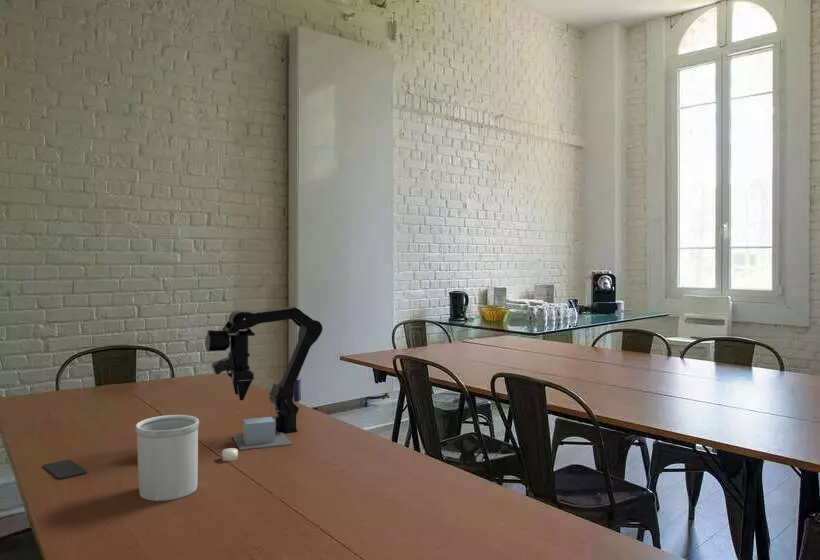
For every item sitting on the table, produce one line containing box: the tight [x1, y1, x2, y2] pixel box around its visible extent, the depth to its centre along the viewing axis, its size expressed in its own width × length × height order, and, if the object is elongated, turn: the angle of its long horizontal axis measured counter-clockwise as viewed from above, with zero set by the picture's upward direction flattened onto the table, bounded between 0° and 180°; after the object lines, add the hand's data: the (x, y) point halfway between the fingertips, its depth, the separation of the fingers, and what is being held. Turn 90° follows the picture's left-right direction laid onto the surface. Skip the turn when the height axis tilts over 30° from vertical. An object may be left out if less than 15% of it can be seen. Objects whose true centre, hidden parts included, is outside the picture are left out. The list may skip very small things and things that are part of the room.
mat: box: [231, 430, 293, 451], centre depth 204 cm, size 16×16×1 cm
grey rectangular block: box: [242, 416, 276, 445], centre depth 202 cm, size 9×6×6 cm
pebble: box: [221, 447, 239, 462], centre depth 185 cm, size 4×4×2 cm
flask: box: [293, 374, 302, 403], centre depth 263 cm, size 9×3×11 cm, turn 8°
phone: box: [42, 459, 88, 481], centre depth 174 cm, size 7×1×15 cm
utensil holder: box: [135, 414, 200, 502], centre depth 159 cm, size 15×15×18 cm
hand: (239, 397), depth 207 cm, fingers open, 9 cm apart
